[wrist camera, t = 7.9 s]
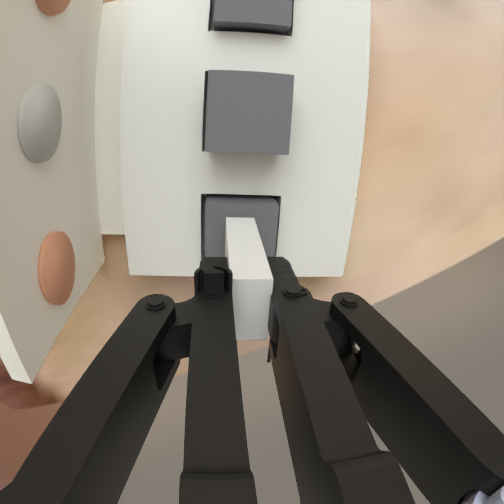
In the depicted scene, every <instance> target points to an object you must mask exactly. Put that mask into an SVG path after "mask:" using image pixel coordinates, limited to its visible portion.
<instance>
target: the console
mask: <svg viewBox="0 0 504 504" xmlns="http://www.w3.org/2000/svg"><path fill="white" fill-rule="evenodd" d="M214 7H215V0H128V7H127V15H126V23H125V32H124V43H123V55H122V70H121V91H120V167H121V189H122V205H123V218H124V230H125V240H126V249H127V258H128V267H129V274H130V275H146V276H194V272H195V271H196V269H198V268H199V266H200V261H201V260H202V259H203V258H204V257H205V203H206V197H207V194H243V195H273V197H274V198H275V200H276V202H277V203H278V205H279V213H278V224H277V236H276V247H275V257H284V258H285V259H286V260H288V261H289V262H290V264H291V267H292V269H293V271H294V273H295V276H296V277H343V272H344V267H345V262H346V256H347V251H348V246H349V240H350V234H351V228H352V222H353V216H354V210H355V203H356V196H357V190H358V182H359V175H360V167H361V159H362V150H363V141H364V131H365V121H366V109H367V96H368V80H369V61H370V21H371V6H370V0H292V20H291V27H290V28H289V30H288V31H287V32H286V33H285V34H284V35H275V34H264V33H251V32H232V31H214V24H213V18H214ZM208 70H238V71H256V72H269V73H280V74H290V75H294V89H293V104H292V119H291V133H290V146H289V155H280V154H262V153H237V152H205V136H206V110H207V89H208Z"/></svg>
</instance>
